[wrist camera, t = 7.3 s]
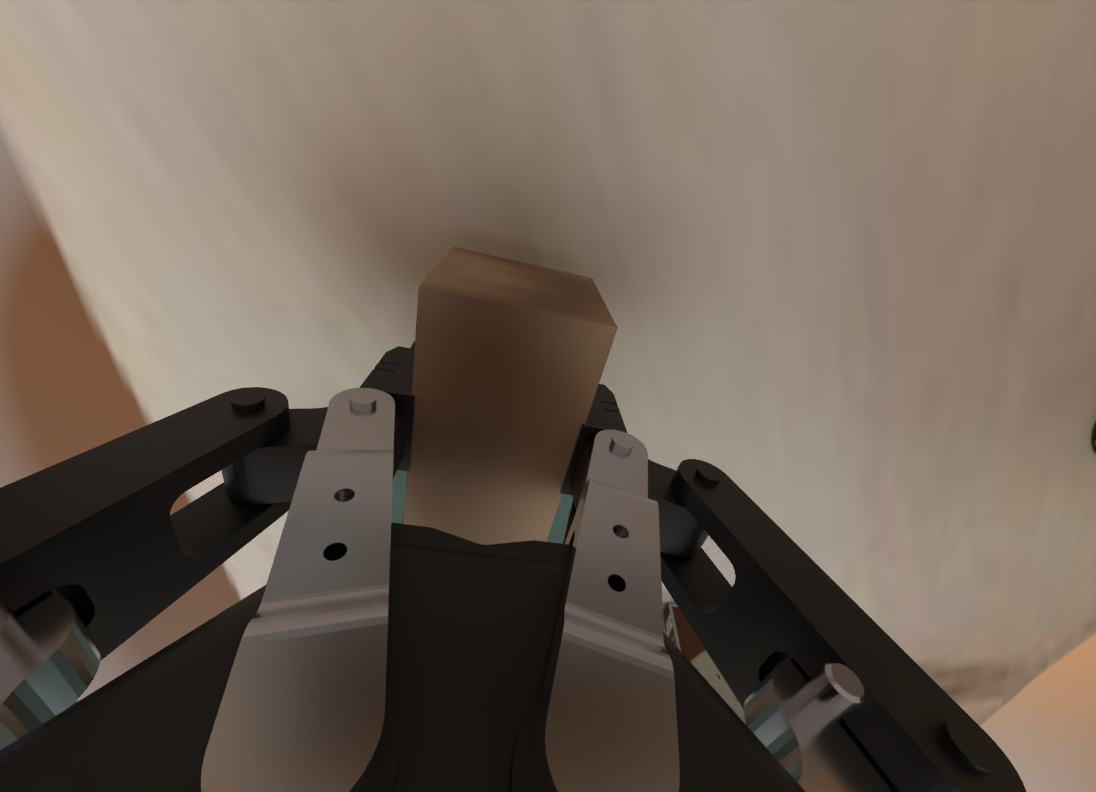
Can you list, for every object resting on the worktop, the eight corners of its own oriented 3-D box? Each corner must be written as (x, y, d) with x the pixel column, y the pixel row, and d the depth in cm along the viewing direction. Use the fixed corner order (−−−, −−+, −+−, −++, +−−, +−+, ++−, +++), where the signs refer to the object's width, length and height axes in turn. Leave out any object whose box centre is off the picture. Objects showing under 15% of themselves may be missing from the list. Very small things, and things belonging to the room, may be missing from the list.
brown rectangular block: (591, 278, 12) (617, 327, 8) (488, 645, 21) (480, 738, 18) (453, 247, 11) (419, 286, 8) (412, 639, 21) (389, 734, 17)
